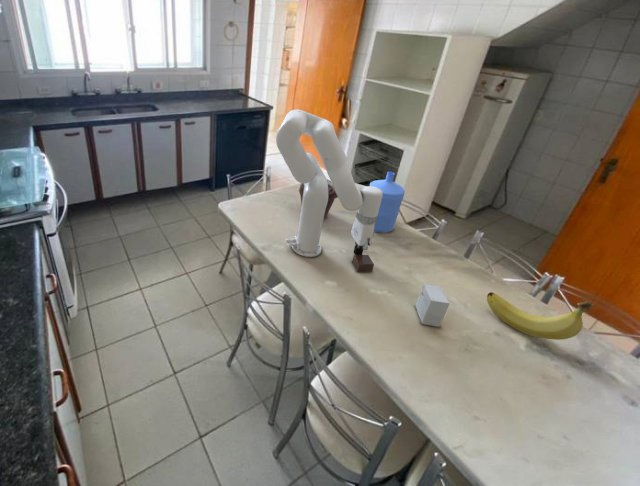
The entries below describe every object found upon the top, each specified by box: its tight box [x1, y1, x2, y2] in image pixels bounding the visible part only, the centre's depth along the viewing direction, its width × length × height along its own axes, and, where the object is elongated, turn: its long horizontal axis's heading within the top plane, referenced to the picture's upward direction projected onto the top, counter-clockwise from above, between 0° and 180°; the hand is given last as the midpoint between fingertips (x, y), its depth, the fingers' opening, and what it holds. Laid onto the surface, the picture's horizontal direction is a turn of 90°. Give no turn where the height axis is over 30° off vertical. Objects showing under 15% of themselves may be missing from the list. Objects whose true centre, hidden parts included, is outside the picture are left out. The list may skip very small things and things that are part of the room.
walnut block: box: [351, 254, 375, 273], centre depth 132 cm, size 6×6×4 cm
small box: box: [415, 283, 450, 328], centre depth 109 cm, size 8×6×10 cm
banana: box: [486, 292, 594, 341], centre depth 104 cm, size 23×6×20 cm, turn 36°
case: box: [298, 183, 338, 220], centre depth 165 cm, size 18×20×18 cm
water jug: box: [369, 171, 406, 234], centre depth 156 cm, size 16×16×28 cm
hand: (357, 253), depth 138 cm, fingers closed
